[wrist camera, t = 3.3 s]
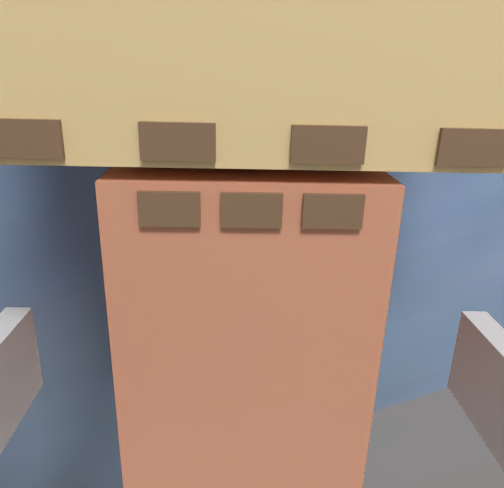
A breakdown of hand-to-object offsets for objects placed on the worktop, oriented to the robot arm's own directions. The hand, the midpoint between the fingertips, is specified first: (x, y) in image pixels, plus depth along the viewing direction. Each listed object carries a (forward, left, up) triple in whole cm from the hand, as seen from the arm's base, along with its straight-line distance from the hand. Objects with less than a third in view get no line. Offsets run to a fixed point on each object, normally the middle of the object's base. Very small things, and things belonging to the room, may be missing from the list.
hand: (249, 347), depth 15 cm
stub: (-2, 0, -8) cm, 9 cm away
